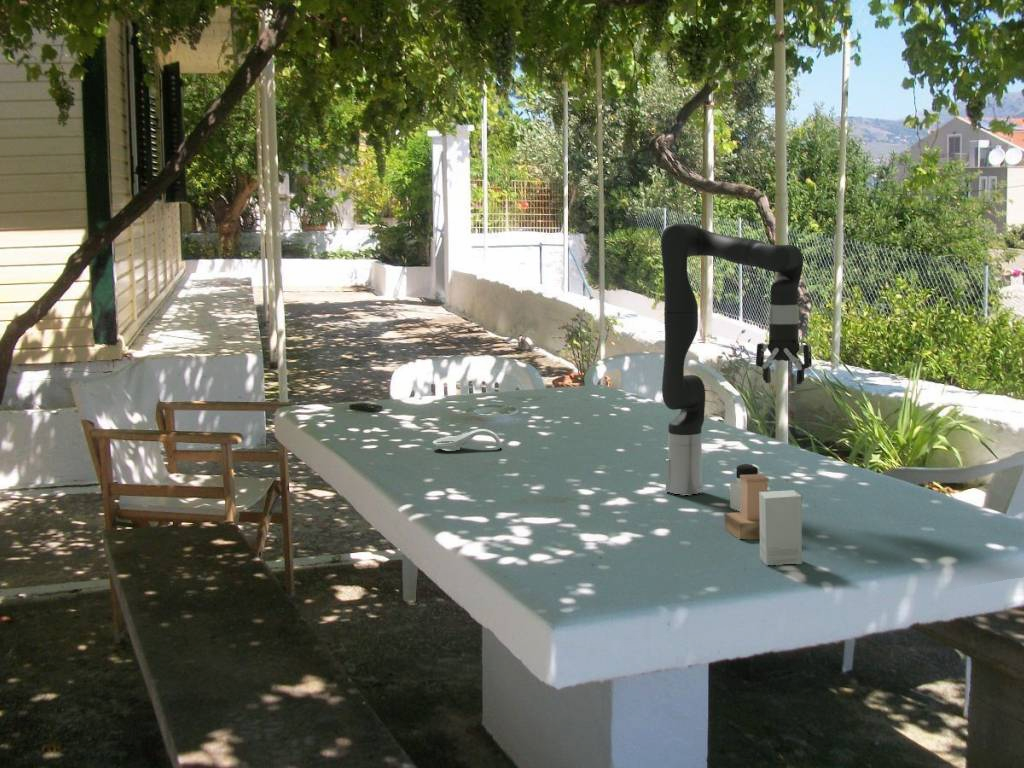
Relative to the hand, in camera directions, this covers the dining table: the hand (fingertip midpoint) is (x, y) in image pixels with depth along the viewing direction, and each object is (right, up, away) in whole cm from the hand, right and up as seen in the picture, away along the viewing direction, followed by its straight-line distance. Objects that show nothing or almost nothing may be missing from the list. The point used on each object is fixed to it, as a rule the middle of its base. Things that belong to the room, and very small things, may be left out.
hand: (783, 383), depth 313 cm
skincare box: (-12, -40, -49) cm, 64 cm away
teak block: (-12, -36, -23) cm, 45 cm away
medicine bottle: (-9, -34, +2) cm, 35 cm away
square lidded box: (-13, -32, -24) cm, 42 cm away
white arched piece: (-87, -23, +99) cm, 134 cm away
